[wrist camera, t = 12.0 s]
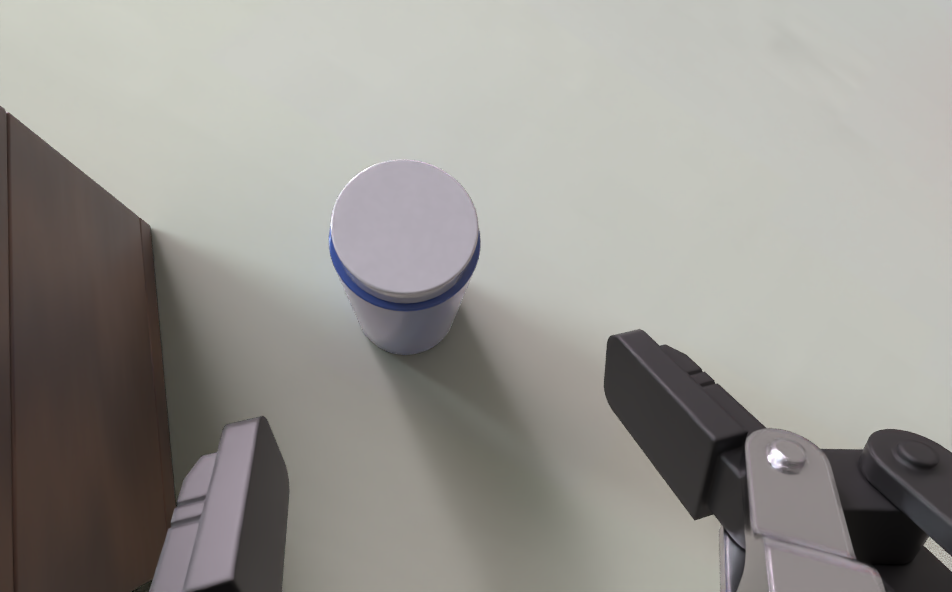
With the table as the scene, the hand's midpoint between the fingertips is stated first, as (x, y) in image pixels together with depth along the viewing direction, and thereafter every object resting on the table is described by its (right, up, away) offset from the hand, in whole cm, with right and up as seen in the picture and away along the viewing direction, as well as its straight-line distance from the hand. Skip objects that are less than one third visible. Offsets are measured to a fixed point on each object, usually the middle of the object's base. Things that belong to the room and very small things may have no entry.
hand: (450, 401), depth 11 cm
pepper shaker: (-2, +2, +10) cm, 11 cm away
